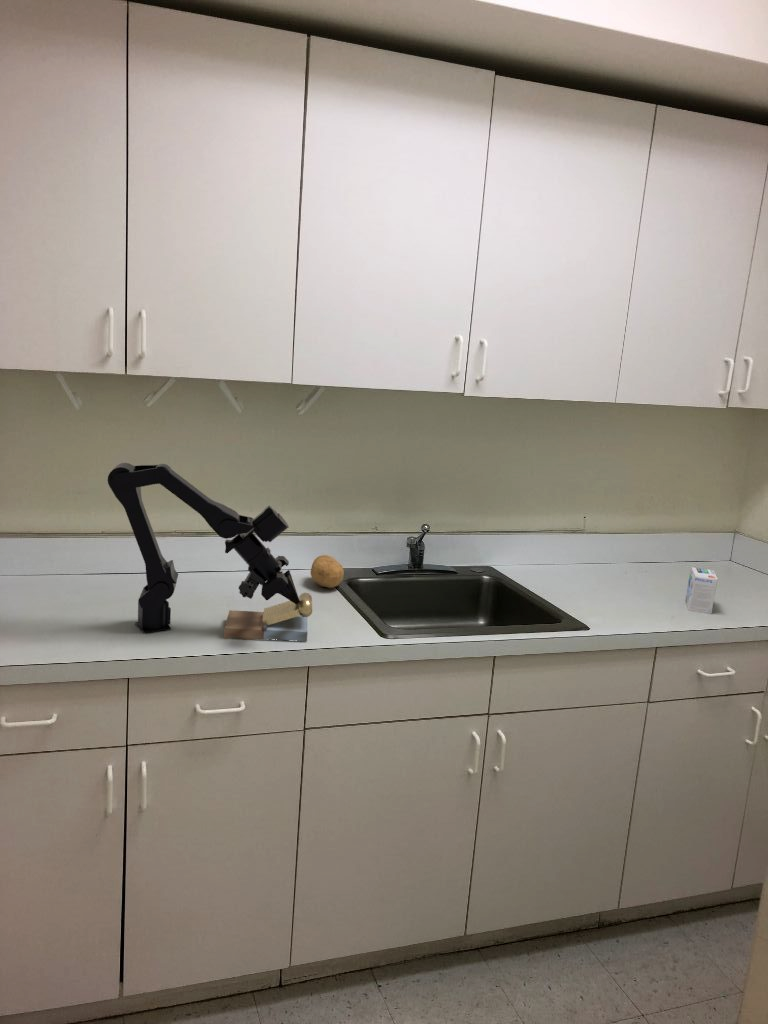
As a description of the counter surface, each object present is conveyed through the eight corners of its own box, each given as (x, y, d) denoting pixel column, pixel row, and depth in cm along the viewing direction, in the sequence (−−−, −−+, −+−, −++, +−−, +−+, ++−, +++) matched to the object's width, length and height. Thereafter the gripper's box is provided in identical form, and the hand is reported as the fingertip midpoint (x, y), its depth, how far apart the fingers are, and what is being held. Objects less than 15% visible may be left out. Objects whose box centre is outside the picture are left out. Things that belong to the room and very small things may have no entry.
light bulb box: (684, 600, 247) (690, 566, 245) (707, 603, 245) (713, 569, 243) (688, 610, 237) (694, 575, 235) (712, 614, 235) (718, 579, 233)
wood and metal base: (224, 638, 186) (224, 625, 186) (228, 620, 198) (229, 607, 197) (306, 641, 189) (307, 628, 188) (306, 623, 200) (307, 611, 199)
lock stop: (261, 617, 188) (309, 602, 188) (263, 605, 196) (309, 591, 196) (265, 629, 189) (314, 614, 189) (267, 617, 197) (313, 602, 197)
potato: (313, 594, 223) (315, 566, 221) (305, 578, 236) (307, 552, 234) (348, 594, 225) (350, 566, 224) (338, 578, 239) (340, 552, 237)
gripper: (232, 564, 199) (273, 610, 202) (225, 588, 180) (270, 638, 184) (267, 536, 198) (307, 582, 202) (263, 557, 180) (308, 608, 183)
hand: (298, 602), depth 193 cm, fingers closed, pressing on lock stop
